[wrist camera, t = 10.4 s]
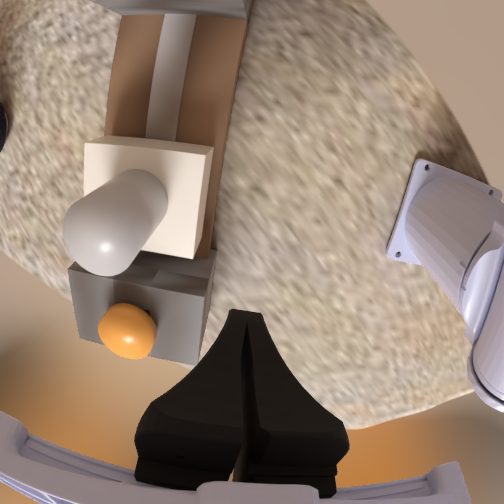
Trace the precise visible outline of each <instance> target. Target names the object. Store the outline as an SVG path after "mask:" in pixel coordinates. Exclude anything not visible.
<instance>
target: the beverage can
mask: <svg viewBox="0 0 504 504" xmlns="http://www.w3.org/2000/svg"><path fill="white" fill-rule="evenodd" d="M7 132H8V120H7V116H6V113H5V111H4V109H3V107H2V105H1V103H0V152H1V150H2V148H3V146H4V143H5V139H6V136H7Z"/></svg>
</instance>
